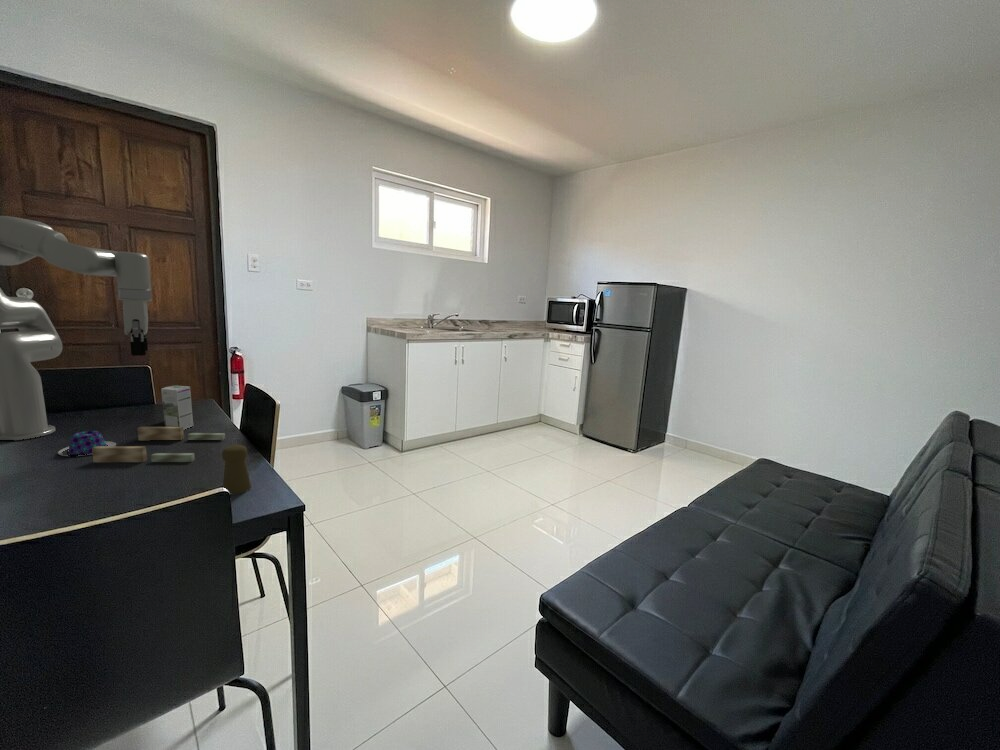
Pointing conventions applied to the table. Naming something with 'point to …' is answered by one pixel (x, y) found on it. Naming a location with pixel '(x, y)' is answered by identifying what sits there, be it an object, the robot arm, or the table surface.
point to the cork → (235, 469)
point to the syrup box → (177, 406)
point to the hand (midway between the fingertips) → (139, 353)
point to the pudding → (85, 443)
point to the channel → (140, 451)
